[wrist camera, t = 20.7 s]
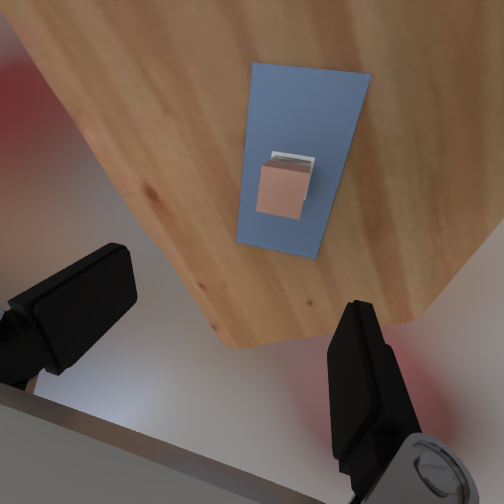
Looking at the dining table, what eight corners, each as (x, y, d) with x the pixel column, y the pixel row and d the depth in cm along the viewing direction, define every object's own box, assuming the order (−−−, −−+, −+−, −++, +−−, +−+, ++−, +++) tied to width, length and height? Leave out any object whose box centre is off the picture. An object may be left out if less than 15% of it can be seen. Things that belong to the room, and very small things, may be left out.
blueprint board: (370, 75, 27) (371, 73, 26) (315, 257, 39) (315, 259, 39) (253, 63, 29) (252, 62, 28) (237, 240, 41) (236, 242, 41)
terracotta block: (310, 166, 27) (310, 173, 23) (301, 206, 30) (299, 219, 26) (269, 159, 28) (261, 165, 24) (263, 199, 31) (255, 211, 26)
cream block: (310, 160, 32) (310, 166, 27) (302, 196, 34) (300, 206, 30) (275, 155, 32) (269, 159, 28) (269, 190, 35) (263, 199, 31)
